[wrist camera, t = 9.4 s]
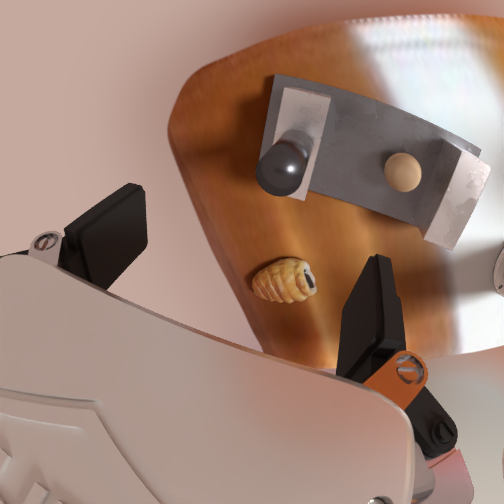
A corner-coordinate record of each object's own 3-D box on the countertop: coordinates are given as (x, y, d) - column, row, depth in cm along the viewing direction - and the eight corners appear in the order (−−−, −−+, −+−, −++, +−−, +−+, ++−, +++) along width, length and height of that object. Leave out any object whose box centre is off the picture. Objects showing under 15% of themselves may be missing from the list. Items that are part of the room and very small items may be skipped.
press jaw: (331, 96, 24) (329, 106, 14) (309, 182, 30) (291, 247, 20) (292, 86, 25) (261, 91, 15) (274, 173, 31) (238, 231, 21)
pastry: (265, 299, 45) (259, 316, 42) (245, 266, 42) (237, 282, 39) (321, 286, 41) (318, 304, 38) (303, 249, 38) (299, 266, 35)
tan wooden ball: (420, 156, 25) (431, 167, 22) (408, 188, 27) (416, 203, 24) (388, 143, 25) (395, 152, 22) (376, 176, 28) (381, 190, 25)
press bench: (475, 146, 23) (501, 163, 18) (439, 230, 30) (454, 260, 25) (277, 73, 26) (263, 72, 21) (259, 171, 33) (243, 192, 28)
